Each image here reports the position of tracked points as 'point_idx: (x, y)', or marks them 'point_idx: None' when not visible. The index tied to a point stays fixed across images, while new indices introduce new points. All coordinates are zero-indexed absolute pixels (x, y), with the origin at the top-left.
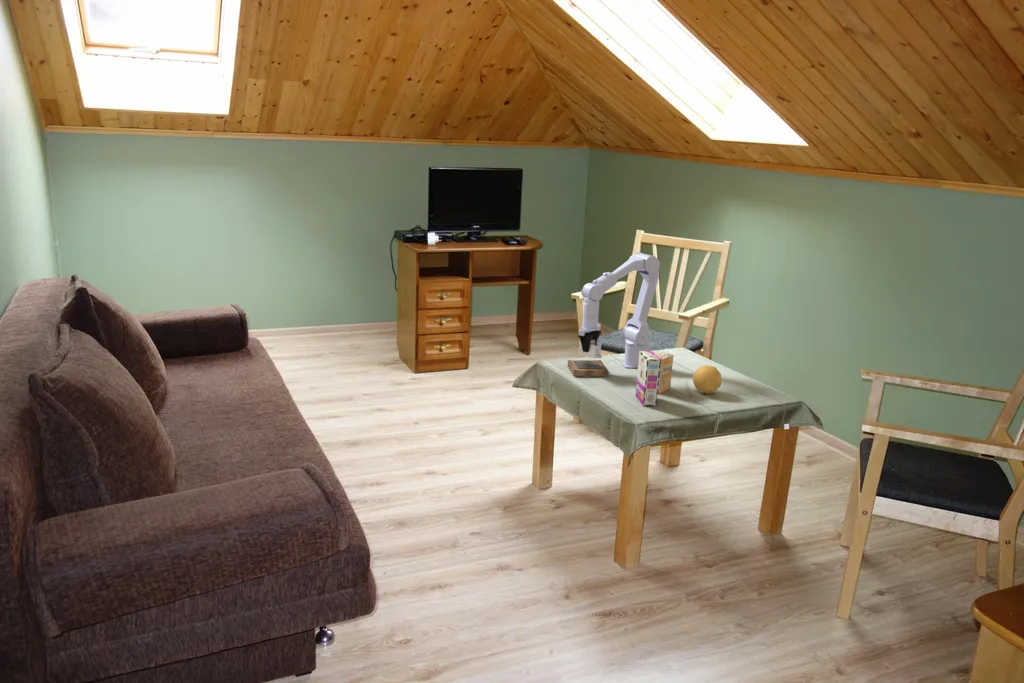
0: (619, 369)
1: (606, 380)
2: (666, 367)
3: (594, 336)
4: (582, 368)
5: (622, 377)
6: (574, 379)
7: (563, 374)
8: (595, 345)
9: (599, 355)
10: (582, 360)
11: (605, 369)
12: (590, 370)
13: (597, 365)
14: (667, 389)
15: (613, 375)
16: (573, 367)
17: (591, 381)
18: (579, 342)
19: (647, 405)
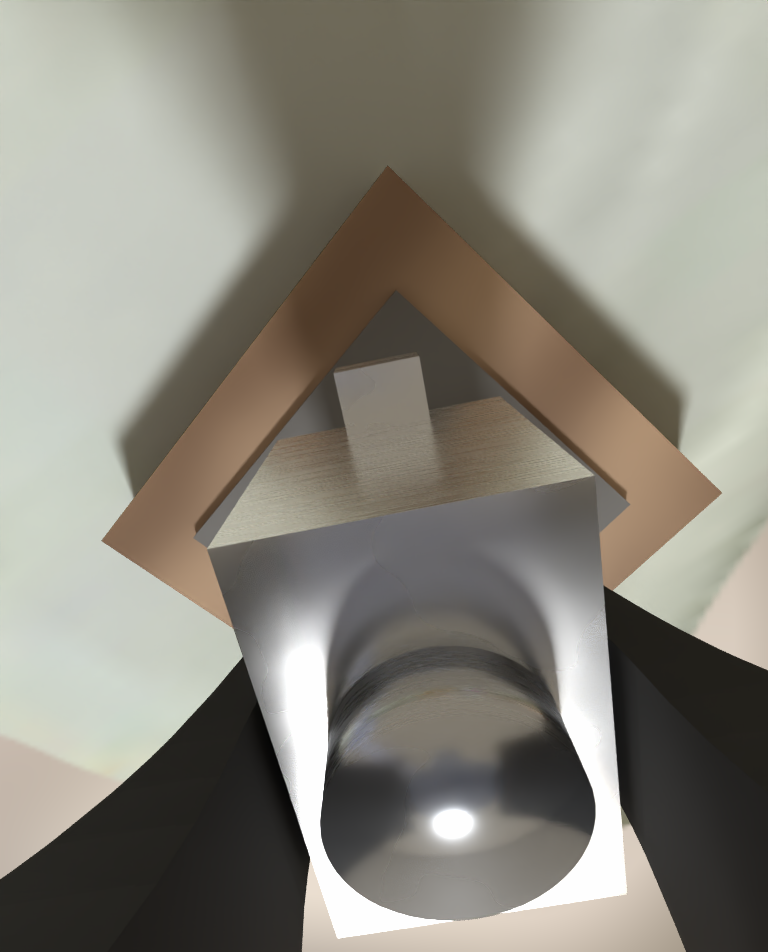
0: (12, 280)
1: (528, 88)
2: None
3: (223, 914)
4: (589, 468)
5: (243, 3)
6: (754, 401)
7: (671, 579)
8: (574, 506)
9: (382, 393)
10: None
11: (381, 227)
12: (576, 351)
13: None
14: None
15: (276, 166)
16: (617, 566)
17: (697, 209)
18: (625, 888)
19: None
